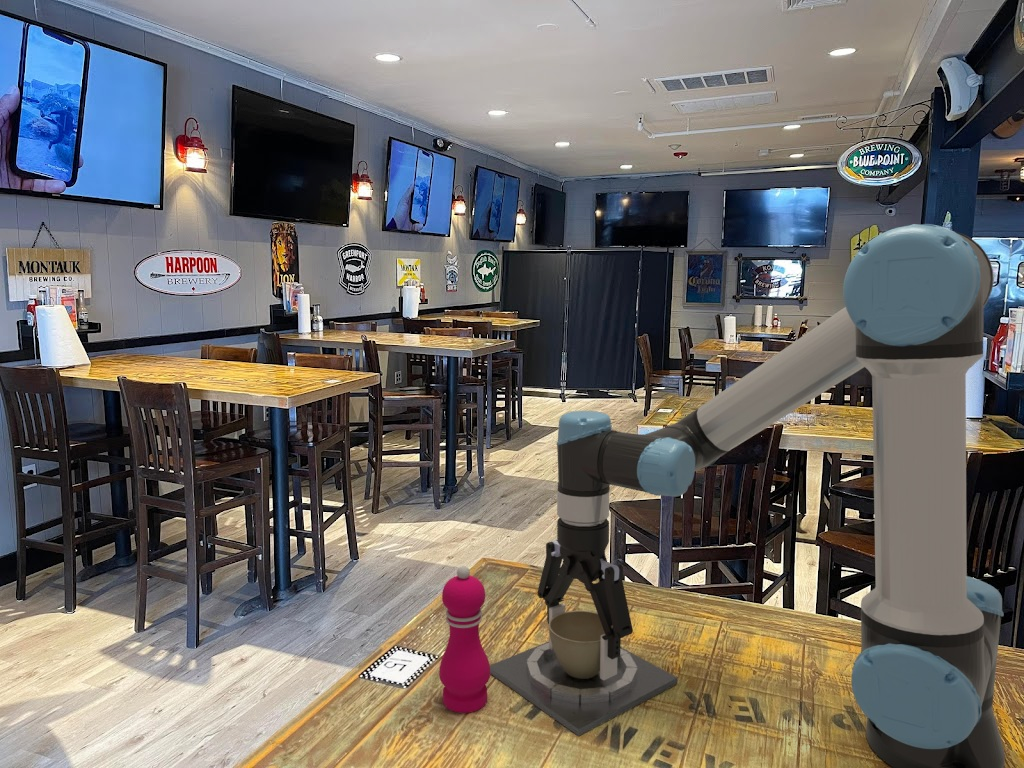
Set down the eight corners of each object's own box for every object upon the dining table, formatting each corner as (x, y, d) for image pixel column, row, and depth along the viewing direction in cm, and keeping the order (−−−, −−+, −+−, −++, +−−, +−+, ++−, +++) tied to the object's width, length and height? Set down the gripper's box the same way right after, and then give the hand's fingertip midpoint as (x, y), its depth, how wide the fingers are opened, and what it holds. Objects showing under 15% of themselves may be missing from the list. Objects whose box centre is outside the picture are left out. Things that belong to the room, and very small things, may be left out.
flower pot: (613, 692, 104) (613, 645, 103) (543, 684, 106) (543, 638, 105) (617, 656, 113) (618, 612, 112) (553, 649, 115) (554, 607, 114)
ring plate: (677, 683, 108) (677, 669, 108) (578, 736, 96) (578, 720, 96) (583, 632, 124) (583, 620, 123) (488, 672, 111) (488, 658, 111)
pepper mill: (454, 721, 99) (452, 581, 96) (431, 696, 105) (428, 563, 102) (500, 705, 103) (499, 569, 100) (475, 681, 109) (473, 553, 106)
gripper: (661, 533, 100) (657, 684, 103) (550, 495, 117) (550, 625, 121) (623, 546, 95) (620, 704, 98) (513, 504, 113) (514, 638, 116)
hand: (581, 660), depth 109 cm, fingers open, 10 cm apart
